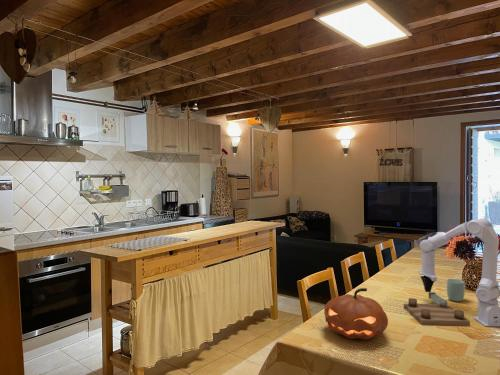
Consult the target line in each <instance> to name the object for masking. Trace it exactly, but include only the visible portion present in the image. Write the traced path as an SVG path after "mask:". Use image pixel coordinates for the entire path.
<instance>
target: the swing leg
mask: <svg viewBox="0 0 500 375" xmlns="http://www.w3.org/2000/svg"><path fill="white" fill-rule="evenodd" d="M428 299H429V300H431V301H433V302H434V304H438V305H439V306H441V307H447V305H448V300H447V299H444V298H442V297H441V296H439V295H437V293H436V292H435V291H434V292H432V291H431V292H428Z"/></svg>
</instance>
